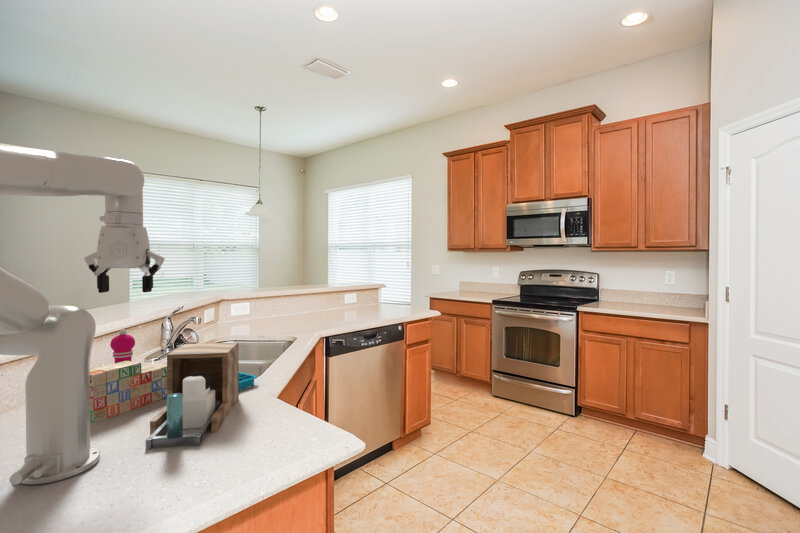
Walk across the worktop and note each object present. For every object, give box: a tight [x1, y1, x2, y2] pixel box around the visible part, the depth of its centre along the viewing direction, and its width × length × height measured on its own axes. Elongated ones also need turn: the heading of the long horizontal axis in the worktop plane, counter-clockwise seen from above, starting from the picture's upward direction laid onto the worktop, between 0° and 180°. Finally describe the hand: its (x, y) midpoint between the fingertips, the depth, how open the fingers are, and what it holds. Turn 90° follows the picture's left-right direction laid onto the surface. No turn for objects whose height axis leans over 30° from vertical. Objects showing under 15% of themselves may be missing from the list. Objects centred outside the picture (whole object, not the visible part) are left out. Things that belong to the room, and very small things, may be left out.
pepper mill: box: [109, 328, 136, 363], centre depth 118 cm, size 7×7×20 cm
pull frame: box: [145, 393, 222, 450], centre depth 95 cm, size 18×11×11 cm, turn 10°
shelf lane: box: [149, 342, 240, 436], centre depth 104 cm, size 23×14×16 cm, turn 10°
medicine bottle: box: [182, 373, 215, 430], centre depth 100 cm, size 7×7×12 cm
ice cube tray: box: [238, 371, 258, 391], centre depth 131 cm, size 12×20×3 cm, turn 59°
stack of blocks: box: [90, 360, 167, 423], centre depth 111 cm, size 21×6×12 cm, turn 157°
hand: (125, 292), depth 97 cm, fingers open, 9 cm apart
